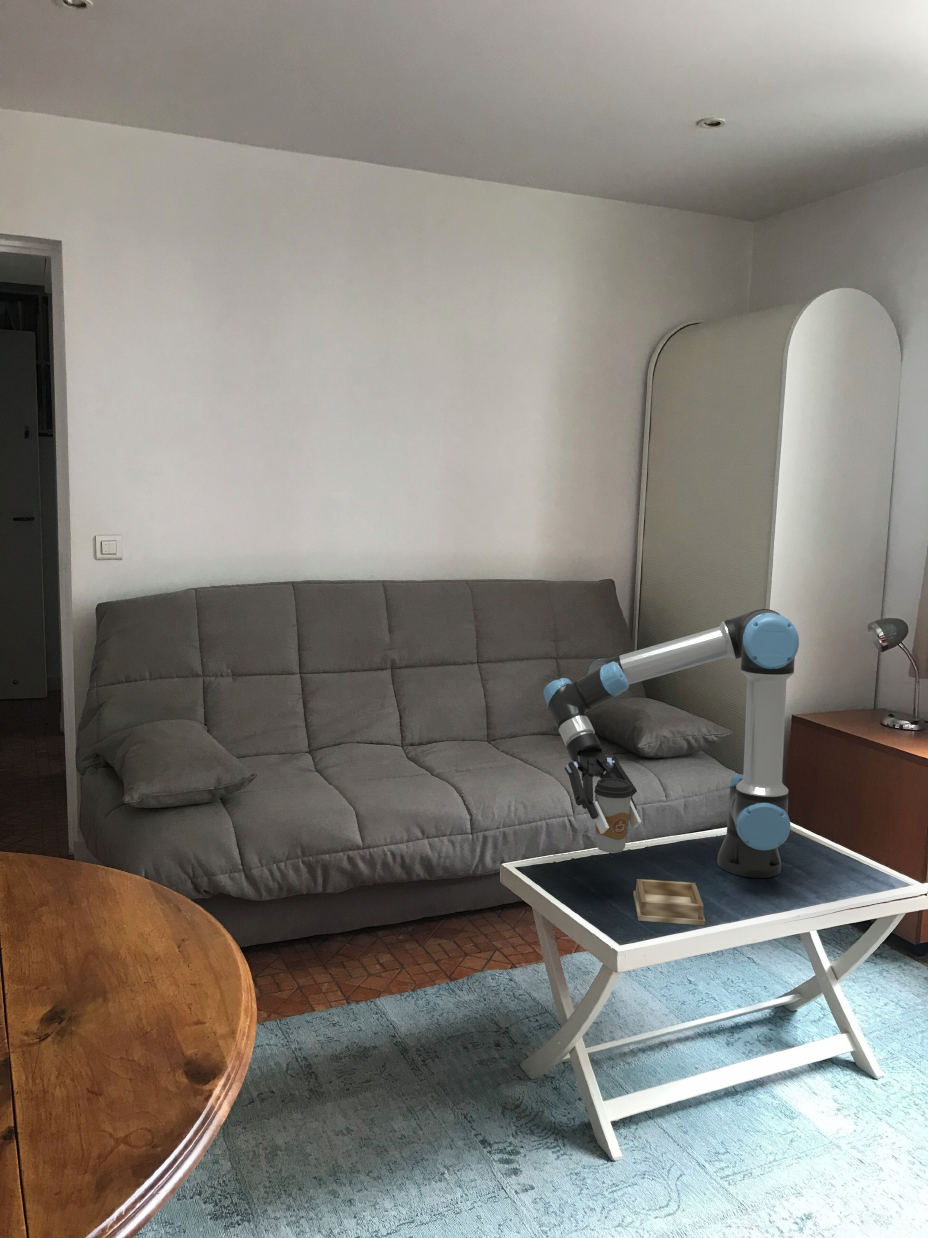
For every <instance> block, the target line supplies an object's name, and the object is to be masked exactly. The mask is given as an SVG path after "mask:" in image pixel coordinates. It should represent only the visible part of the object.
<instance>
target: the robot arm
mask: <svg viewBox="0 0 928 1238" xmlns="http://www.w3.org/2000/svg"><path fill="white" fill-rule="evenodd" d="M799 647H800V637H799V634H798V630H797V629H796V627H795V625H794V624H793V623H792V621H790V620H789V619H788V618H787V617H785V616H784V615H782V614H780V613H779V612H778V611H775V610H772V609H769V608H758V609H754V610H752V611H749V612H746V613H743V614H740V615H738V616H735V617H732V618H730V619H727V620H726V619H725V620H723V621H721V623H720V625H719V626H718V627H714V628H710V629H707V630H703V631H700V632H697V633H693V634H690V635H686V636H683V637H679V638H676V639H672V640H669V641H665V642H662V643H658V644H655V645H652V646H651V645H650V646H648V647H644V648H642V649H639V650H635V651H631V652H630V651H629V652H627V653H624V654H621V655H618V656H614V657H610V658H599V659H597V660H596V661H594V662H593V663H591V665H590V666H589V668H588V670H587V674H586V675H585V676H582V677H581V678H580V679H578V680H575V681H573V682H572V681H571V680H570V679H569V678H566V677H565V678H564V677H561V678H559V679H554V680H553V681H550V682H549V683H548V684H547V685H546V686H545V687H544V689H543V697H544V700H545V703H546V705H547V709H548V711H549V713H550V714H551V717H552V719H553V721H554V723H555V725H556V727H557V730H558V733H559V735H560V736H561V738H562V741H563V743H564V745H565V746H566V750H567V752H568V755H569V757H570V758H571V760H572V761H569V762H568V763H567V764H566V766H565V767H564V771H565V772H566V774H567V775H568V777H569V782H570V785H571V789H572V794H573V797H574V801H575V804H576V805H577V806H578V807H579V806H581V808H583V809H584V810H587V812H588V815H589V817H590V818H591V820H593V821H594V823H595V822H596V825H597V827H598V829H599V831H600V834H603V833H604V832H605V831H606V830H607V829H608V828H609V826H608V824H607V822H606V819H605V817H604V815H603V813H602V811H601V808H600V806H599V804H598V802H597V801H594V785H593V784H594V777H597V778H599V779H604V778H615V779H622V780H625V781H628V782H629V783H630V787H631V788H632V796H631V801H630V810H629V821H628V822H629V823H630V825H631V827H632V829H636V828H637V827H638V826H639V825H640V824H641V823H642V820H641V817H640V816H639V814H638V812H637V810H638V808H637V805H636V803H635V801H634V798H633V797H634V795H635V794H637V792H638V791H637V788H636V786H635V785H634V784H633V782H632V780H631V779H630V778H629V776H628V775H627V773H626V772H625V770H624V768H623V767H622V765H621V764H620V761H619V758H618V756H616V755H613V756H612V757H607V756H606V755H605V754H604V753H603V750H602V749H603V748H602V744H601V742H600V740H599V738H598V735H597V734H596V732H595V729H594V727H593V725H592V723H591V721H590V718H589V716H588V715H587V713H586V712H588V711H591V710H592V709H594V708H596V707H598V706H600V705H602V704H604V703H605V702H607V701H609V700H611V699H613V698H614V697H618V696H619V695H621V694H622V693H624V692H625V691H627V690H628V689H629V687H630V685H632V684H635V683H639V682H643V681H646V680H650V679H653V678H657V677H661V676H664V675H667V674H671V673H675V672H678V671H679V672H680V671H682V670H686V669H690V668H693V667H696V666H697V667H698V666H701V665H704V664H707V663H711V662H714V661H718V660H721V659H724V658H725V659H726V658H729V659H730V658H731V659H732V660H737V659H740V660H741V661H740V671H741V673H742V674H743V675H744V676H745V677H746V681H747V682H746V699H745V700H746V702H745V729H744V749H743V750H744V751H743V752H744V753H743V774H742V773H741V774H734V775H732V776H731V778H730V783H729V786H728V788H729V794H728V809H727V810H728V811H727V823H726V834H725V837H724V839H723V841H722V844H721V846H720V849H719V850H718V854H717V861H716V863H717V865H718V866H719V868H721V870H724V871H725V872H728V873H730V874H733V875H736V876H740V877H747V878H753V879H755V878H756V879H767V878H768V879H769V878H772V877H776V876H778V875H780V874H781V871H782V860H781V856H780V852H779V849H778V847H780V846H781V845H783V844H784V843H785V842H786V841H787V840H788V837H789V835H790V833H791V822H790V821H791V820H790V817H789V815H788V814H789V813H788V811H789V809H788V808H789V789H788V787H787V786H786V785H784V783H783V764H784V762H783V761H784V745H785V743H784V742H785V719H786V702H787V700H786V698H787V681H788V679H789V678H790V677H791V676H793V675H795V662H796V661H795V658H796V656H797V653H798V650H799ZM580 772H581V775H580Z"/></svg>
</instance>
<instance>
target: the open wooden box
mask: <svg viewBox="0 0 928 1238" xmlns="http://www.w3.org/2000/svg"><path fill="white" fill-rule="evenodd" d="M632 895H633V900H634V905H635V910H636V915H637V920H638V922H651V923H654V922H655V923H665V924H668V923H669V924H678V925H679V924H681V925H695V926H706V918H705V915H704V903H703V900H702V898H701V895H700V892H699V890H698V887H697V885H696V882H687V881H685V882H684V881H672V880H658V879H657V880H656V879H655V880H654V879H641V878H636V884H635V890H633V894H632Z"/></svg>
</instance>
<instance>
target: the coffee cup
mask: <svg viewBox="0 0 928 1238" xmlns="http://www.w3.org/2000/svg"><path fill="white" fill-rule="evenodd" d="M593 793H594V795H595V796H594V799H595V801H597V802H598V804H599V806H600V808H601V811H602V813H603V815H604V817H605V819H606V822H607V824H608V826H609V828H608V829H607V830H606V831H605V832H604V833H603V834H600V831H599V829H598V827H597V825H596V822H595V821H594V823H595V844H596V847H597V849H598V851H599V850H600V851H601V852H604V853H608V854H609V853H612V854H616V853H622V852H623V851H624V850H625V847H626V843H627V834H628V831H629V830H628V828H629V822H630V821H629V810H630V801H631V796H632V788H631V787H630V783H629V782H628V781H625V780H622V779H615V778H604V779H601V778H599V779H598V780H597V782H596V785H594V790H593ZM632 797H633V796H632ZM595 801H594V802H595Z"/></svg>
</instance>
